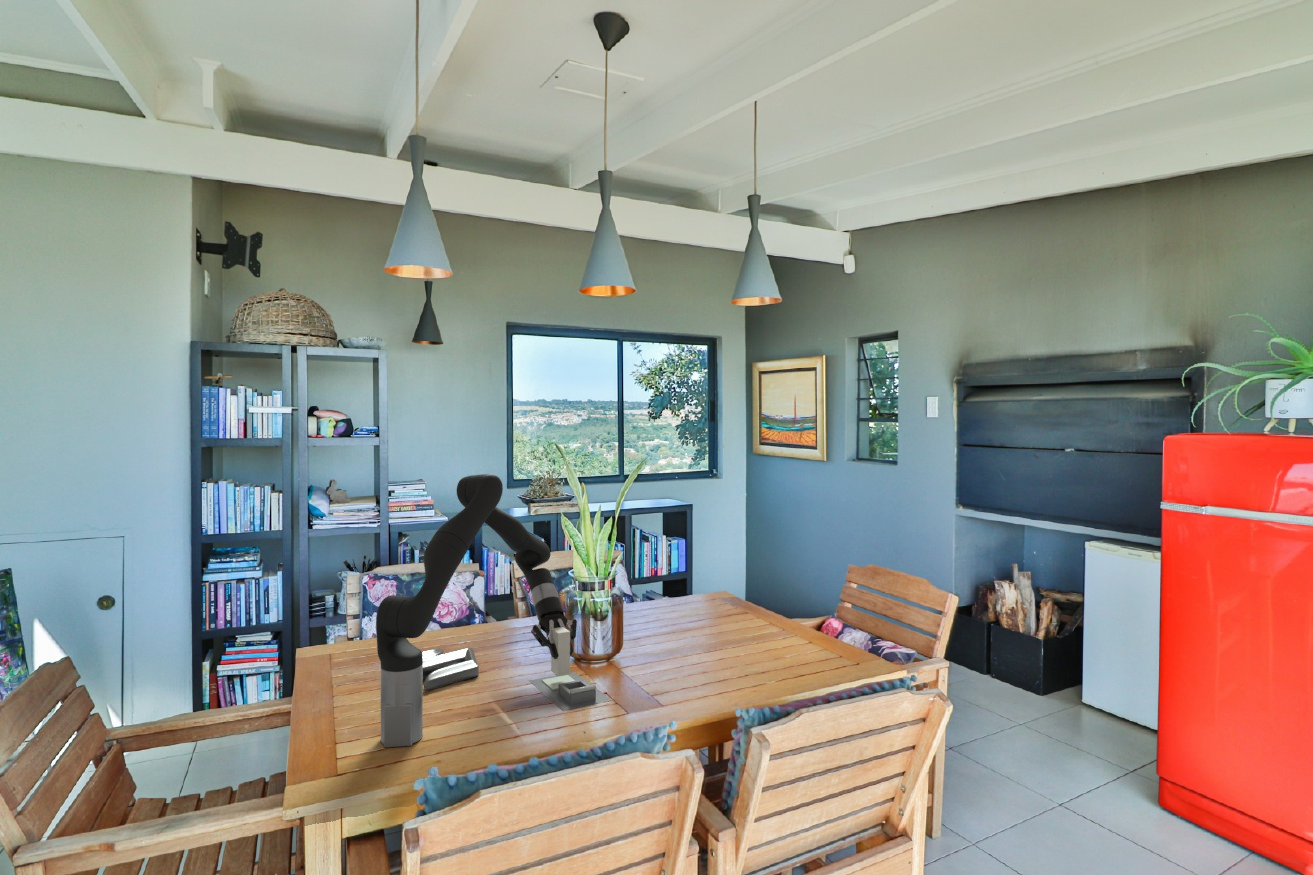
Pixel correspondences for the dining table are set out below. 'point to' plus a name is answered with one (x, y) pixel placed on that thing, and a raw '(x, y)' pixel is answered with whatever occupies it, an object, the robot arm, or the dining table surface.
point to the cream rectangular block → (561, 652)
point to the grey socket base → (569, 691)
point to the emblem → (448, 667)
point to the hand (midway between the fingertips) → (563, 656)
